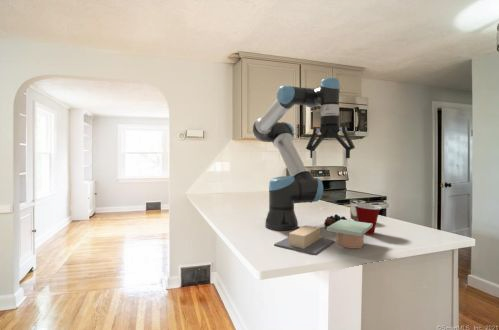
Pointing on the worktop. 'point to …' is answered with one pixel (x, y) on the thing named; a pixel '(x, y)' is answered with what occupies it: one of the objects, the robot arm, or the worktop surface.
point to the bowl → (350, 240)
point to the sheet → (350, 227)
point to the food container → (353, 209)
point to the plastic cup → (367, 215)
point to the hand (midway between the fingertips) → (329, 166)
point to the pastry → (332, 220)
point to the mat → (308, 249)
